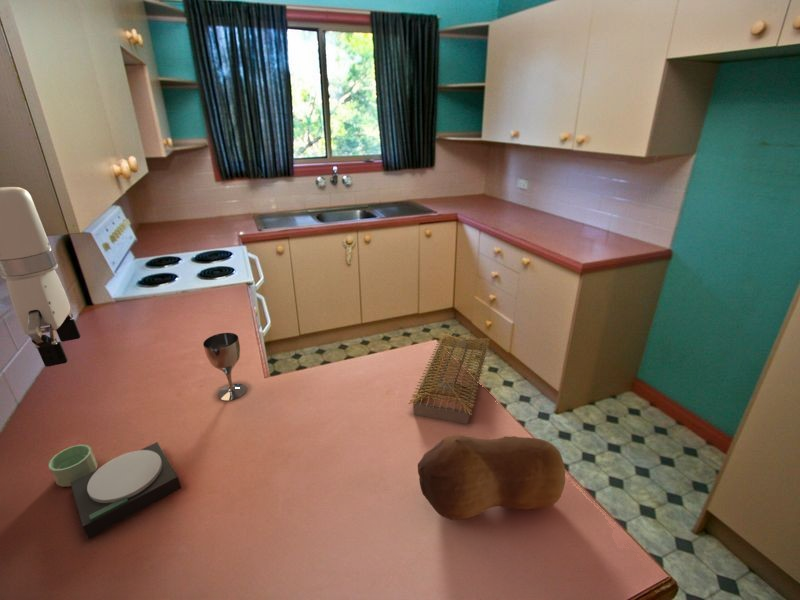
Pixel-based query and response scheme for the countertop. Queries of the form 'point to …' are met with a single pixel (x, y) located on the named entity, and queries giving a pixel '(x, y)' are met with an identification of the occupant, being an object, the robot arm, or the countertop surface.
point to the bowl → (72, 464)
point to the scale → (123, 488)
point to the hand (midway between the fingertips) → (64, 351)
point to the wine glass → (225, 361)
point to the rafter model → (449, 387)
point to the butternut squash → (490, 475)
